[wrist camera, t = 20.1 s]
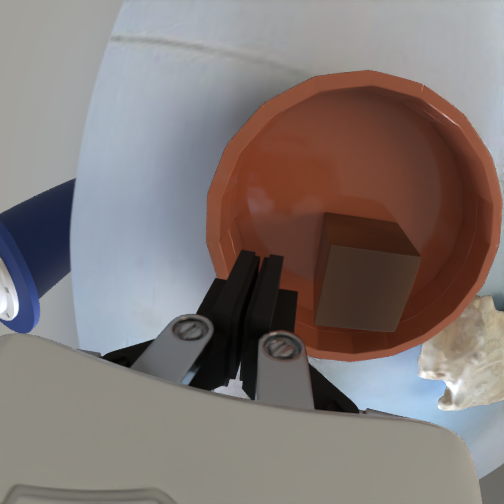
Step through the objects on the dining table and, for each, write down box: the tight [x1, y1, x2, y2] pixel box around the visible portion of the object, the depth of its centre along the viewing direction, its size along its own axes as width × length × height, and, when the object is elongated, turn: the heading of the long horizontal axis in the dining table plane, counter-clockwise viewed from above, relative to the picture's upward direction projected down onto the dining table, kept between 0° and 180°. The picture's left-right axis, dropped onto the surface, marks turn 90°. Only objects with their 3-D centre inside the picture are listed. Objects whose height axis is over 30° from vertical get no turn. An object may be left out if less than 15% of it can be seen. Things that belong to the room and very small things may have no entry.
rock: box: [418, 295, 504, 411], centre depth 18 cm, size 4×13×20 cm
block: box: [314, 212, 421, 332], centre depth 16 cm, size 4×4×4 cm
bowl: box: [206, 70, 503, 362], centre depth 15 cm, size 15×15×4 cm
